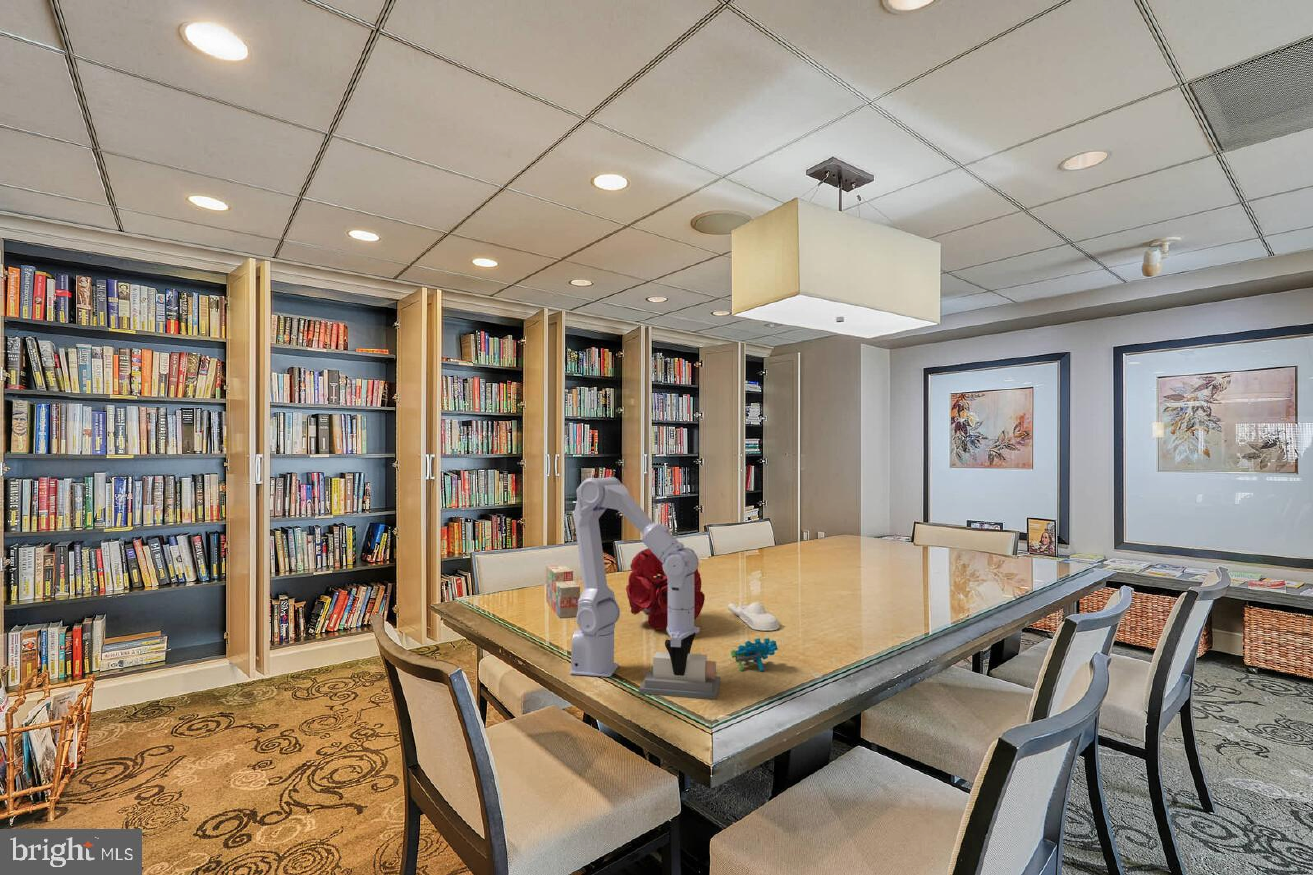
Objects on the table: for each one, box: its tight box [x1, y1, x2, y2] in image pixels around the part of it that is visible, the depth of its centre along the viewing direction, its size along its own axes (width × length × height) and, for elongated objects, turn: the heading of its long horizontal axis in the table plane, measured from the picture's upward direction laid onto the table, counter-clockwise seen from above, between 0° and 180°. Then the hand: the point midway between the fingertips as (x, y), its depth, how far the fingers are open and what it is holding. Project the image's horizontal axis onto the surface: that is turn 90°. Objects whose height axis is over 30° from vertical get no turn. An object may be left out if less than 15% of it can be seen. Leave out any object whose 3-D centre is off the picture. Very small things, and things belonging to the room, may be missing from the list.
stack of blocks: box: [545, 564, 581, 619], centre depth 190 cm, size 21×6×12 cm, turn 22°
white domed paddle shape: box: [727, 600, 781, 632], centre depth 176 cm, size 10×20×6 cm, turn 13°
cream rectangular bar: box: [652, 651, 717, 682], centre depth 126 cm, size 13×4×5 cm, turn 79°
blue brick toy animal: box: [730, 637, 779, 672], centre depth 137 cm, size 11×6×10 cm
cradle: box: [638, 665, 721, 700], centre depth 126 cm, size 16×10×2 cm, turn 79°
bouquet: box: [625, 547, 706, 630], centre depth 174 cm, size 22×24×30 cm
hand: (680, 670), depth 126 cm, fingers closed on cream rectangular bar, 4 cm apart
